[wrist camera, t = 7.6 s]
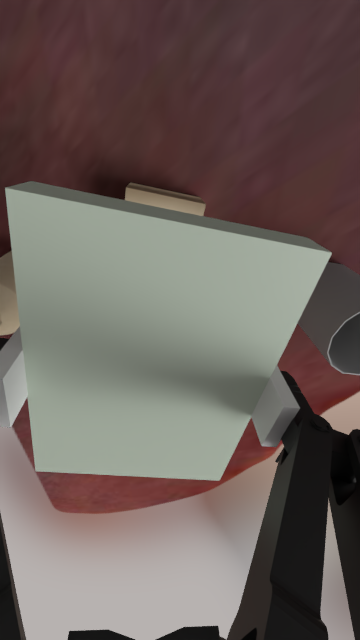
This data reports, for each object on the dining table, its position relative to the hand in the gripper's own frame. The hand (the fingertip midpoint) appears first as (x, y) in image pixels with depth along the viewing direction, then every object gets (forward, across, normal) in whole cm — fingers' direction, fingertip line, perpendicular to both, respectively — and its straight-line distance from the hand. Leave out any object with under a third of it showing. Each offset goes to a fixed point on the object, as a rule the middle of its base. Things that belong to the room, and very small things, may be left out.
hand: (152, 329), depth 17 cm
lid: (-3, 0, 0) cm, 3 cm away
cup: (+16, +21, -2) cm, 27 cm away
